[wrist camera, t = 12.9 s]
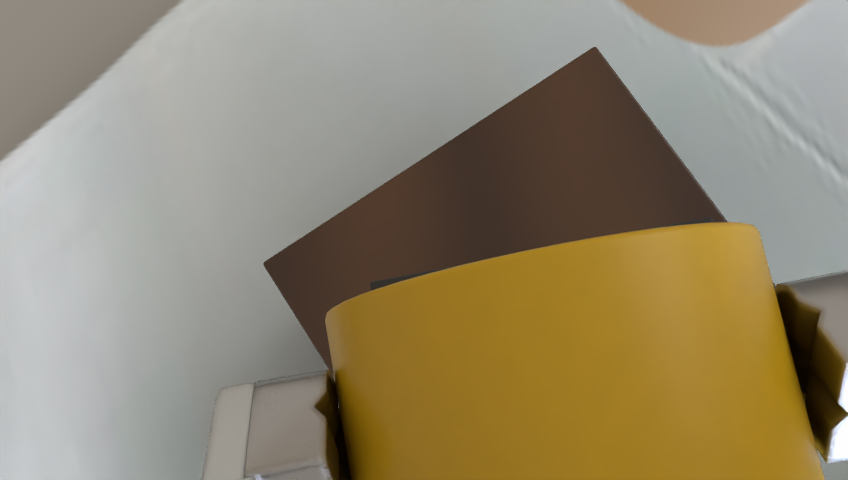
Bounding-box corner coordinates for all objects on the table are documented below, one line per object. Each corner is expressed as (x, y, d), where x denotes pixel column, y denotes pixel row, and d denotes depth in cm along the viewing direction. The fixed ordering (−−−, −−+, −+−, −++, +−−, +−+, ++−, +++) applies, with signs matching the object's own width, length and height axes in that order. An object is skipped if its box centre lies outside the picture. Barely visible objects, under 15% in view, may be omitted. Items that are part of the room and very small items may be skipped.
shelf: (553, 146, 32) (616, -6, 19) (720, 378, 30) (913, 380, 17) (323, 298, 31) (230, 244, 19) (480, 543, 30) (497, 672, 17)
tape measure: (666, 263, 15) (838, 170, 8) (716, 473, 15) (951, 567, 8) (331, 327, 16) (220, 288, 8) (366, 539, 15) (277, 690, 8)
